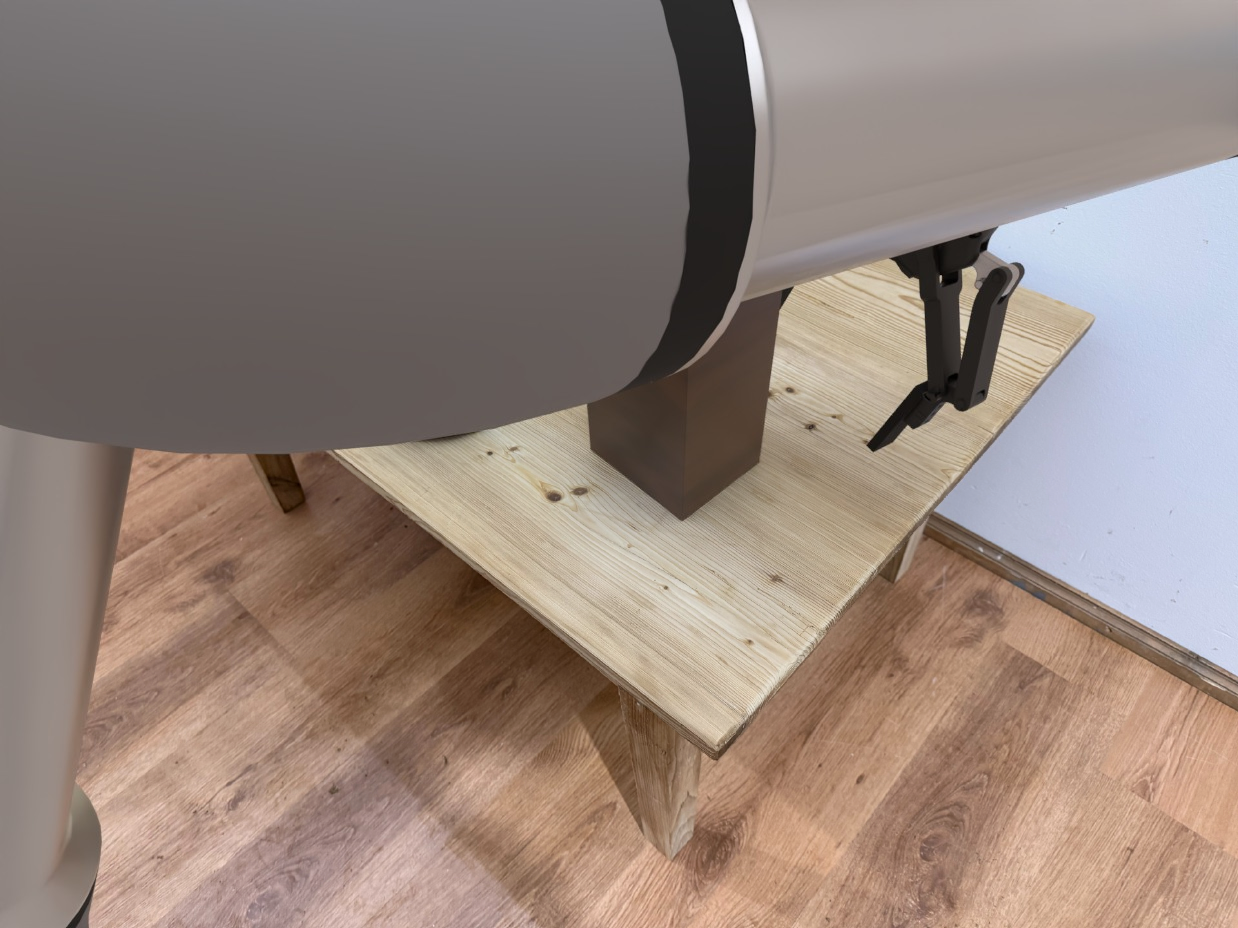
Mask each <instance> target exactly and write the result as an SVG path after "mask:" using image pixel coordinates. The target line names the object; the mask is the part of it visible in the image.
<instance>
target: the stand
mask: <svg viewBox="0 0 1238 928" xmlns="http://www.w3.org/2000/svg"><path fill="white" fill-rule="evenodd" d="M781 296H782V290H780V291H776V292H773V293H769V294H766V295H763V296H759V297H756V298H752V299H749V300H745V301H742V302H740V305H739V307H738V309H737V311H736V312H735V314H734V316H733V318H732V319H731V321H730V323H729V325H728V326H727V328H726V330H725V331H724V333H723V334H722V335H721V336H720V338H719V339H718V340H717V341H716V342H715V343H714V345H713V346H712V347H711V348H710V349H709V350H708V352H707V353H706V354H704V355H703V356H702V357H701V358H699V359H698V360H697V361H696V362H694V363H693V364H692V365H690V366H689V367H688V368H685V369H683V370H681V371H679V372H677V373H675V374H673V375H670V376H668V377H665V378H662V379H659V380H657V381H653V382H650V383H647V384H644V385H641V386H638V387H635V388H632V389H629V390H625V391H622V392H619V393H616V394H613V395H610V396H608V397H605V398H603V399H600V400H598V401H595V402H591V403H588V404H586V408H587V421H588V423H587V424H588V433H589V434H588V435H589V445H590V446H589V447H590V450H591V451H592V452H593V453H595V454H596V455H597V456H599V457H600V458H601V459H602V460H604V461H605V462H606V463H608V464H609V465H610V466H611V467H613V468H614V469H615V470H616V471H618V473H620V474H622V475H623V476H624V477H625V478H627V479H628V480H629V481H630V482H631V483H633V484H634V485H635V486H637V487H638V488H639V489H640V490H642V491H643V492H644V493H646V494H647V495H648V496H649V497H651V498H652V499H653V500H654V501H655V502H657V503H658V504H660V506H662V507H663V508H664V509H666V510H667V511H668V512H670V513H671V514H672V515H673V516H675V517H676V518H677V519H679V520H680V521H681V522H684V521H685V520H686V519H688V518H689V517H690V516H691V515H693V514H694V513H695V512H696V511H698V510H699V509H700V508H702V507H703V506H705V504H707V503H708V502H709V501H711V500H712V499H713V498H715V497H716V496H718V495H719V494H720V493H721V492H722V491H725V489H727V488H728V487H729V486H731V485H732V484H733V483H735V482H736V481H737V480H738V479H739V478H741V477H742V476H743V475H745V474H746V473H747V472H749V471H750V470H752V469H753V468H754V467H755V466H757V465H758V464H759V463H760V462H761V461H760V460H761V453H762V447H763V439H764V430H765V423H766V416H767V415H766V414H767V409H768V400H769V393H770V386H771V378H772V371H773V363H774V357H775V356H774V355H775V347H776V341H777V340H776V339H777V333H778V326H779V319H780V311H781V309H780V303H781Z"/></svg>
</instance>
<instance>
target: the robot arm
mask: <svg viewBox="0 0 1238 928" xmlns="http://www.w3.org/2000/svg"><path fill="white" fill-rule="evenodd" d="M1235 158H1238V0H0V928H90V911H91V907H92V902H93V899H94V898H93V897H94V893H95V887H96V883H97V878H98V877H97V876H98V873H99V866H100V862H101V856H102V846H103V845H102V844H103V836H102V826H101V822H100V819H99V817H98V813H97V811H96V809H95V807H94V805H93V803H92V800H91V799H90V797H89V796H88V795H87V794H86V792H85V790H84V789H83V788H82V787H81V786H80V785H79V784H78V783H77V782H76V778H77V774H78V773H77V772H78V767H79V761H80V757H81V750H82V745H83V739H84V734H85V729H86V724H87V723H86V722H87V718H88V717H87V716H88V712H89V705H90V700H91V695H92V690H93V685H94V678H95V674H96V673H95V672H96V668H97V661H98V656H99V650H100V645H101V639H102V633H103V628H104V622H105V617H106V611H107V606H108V600H109V595H110V589H111V584H112V577H113V571H114V567H115V562H116V556H117V550H118V545H119V539H120V534H121V527H122V523H123V516H124V511H125V505H126V500H127V494H128V488H129V482H130V477H131V472H132V467H133V460H134V455H135V451H136V450H135V449H138V450H146V451H154V452H163V453H164V452H165V453H173V454H185V455H187V454H192V455H193V454H195V455H197V454H201V455H205V454H206V455H207V454H210V455H214V454H215V455H233V454H234V455H291V454H303V453H315V452H327V451H338V450H339V451H340V450H350V449H351V450H352V449H361V448H362V449H363V448H373V447H386V446H394V445H401V444H406V443H413V442H414V443H415V442H418V441H419V442H420V441H425V440H431V439H438V438H443V437H445V438H446V437H450V436H456V435H457V436H458V435H464V434H470V433H475V432H483V431H488V430H493V429H494V430H495V429H498V428H502V427H505V426H509V425H512V424H516V423H521V422H524V421H527V420H532V419H537V418H539V417H543V416H546V415H551V414H554V413H557V412H558V413H559V412H562V411H565V410H570V409H573V408H576V407H580V406H584V405H587V404H588V403H591V402H595V401H598V400H600V399H603V398H605V397H608V396H610V395H613V394H616V393H619V392H622V391H625V390H629V389H632V388H635V387H638V386H641V385H644V384H647V383H650V382H653V381H657V380H659V379H662V378H665V377H668V376H670V375H673V374H675V373H677V372H679V371H681V370H683V369H685V368H688V367H689V366H690V365H692V364H693V363H694V362H696V361H697V360H698V359H699V358H701V357H702V356H703V355H704V354H706V353H707V352H708V350H709V349H710V348H711V347H712V346H713V345H714V343H715V342H716V341H717V340H718V339H719V338H720V336H721V335H722V334H723V333H724V331H725V330H726V328H727V326H728V325H729V323H730V321H731V319H732V318H733V316H734V314H735V312H736V311H737V309H738V307H739V305H740V302H742V301H745V300H749V299H752V298H756V297H759V296H763V295H766V294H769V293H773V292H776V291H780V290H782V296H781V303H780V310H781V309H782V307H783V306H784V304H785V302H786V301H787V300H788V298H789V296H790V295H791V293H792V291H793V289H794V288H795V287H797V286H800V285H803V284H807V283H811V282H814V281H817V280H820V279H824V278H826V277H831V276H834V275H837V274H841V273H844V272H847V271H851V270H854V269H857V268H858V269H859V268H861V267H865V266H868V265H871V264H875V263H878V262H882V261H885V260H891V261H893V262H894V263H895V265H897V267H898V269H899V270H900V272H901V273H902V274H904V276H906V277H907V278H908V279H909V280H911V279H916V280H918V289H919V291H918V292H919V299H920V300H921V301H922V302H923V311H924V312H923V313H924V332H925V336H924V337H925V354H926V358H925V359H926V375H927V376H926V377H927V378H926V379H927V380H925V381H923V382H921V383H919V384H916V385H915V386H914V387H913V388H912V389H911V390H910V392H909V393H908V394H907V395H906V397H904V399H903V400H902V402H901V403H899V405H898V406H897V407H896V409H895V410H894V411H893V412H892V413H891V415H890V416H889V417H888V418H887V420H885V421H884V423H883V424H882V426H881V427H880V428H879V429H878V430H877V431H876V433H874V435H873V436H872V437H871V439H870V440H869V441H868V442H867V444H866V447H867V448H868V449H869V450H870V452H872V453H875V452H878V451H879V450H881V449H883V448H885V447H886V446H889V445H891V444H893V443H894V442H895V441H896V440H897V438H898V437H899V436H900V435H901V434H902V433H903V431H904V430H905V429H906V428H907V427H909V428H910V429H911V430H913V431H914V430H916V429H917V428H920V427H922V426H924V425H926V424H928V423H929V422H930V421H931V420H932V419H933V418H935V416H936V415H937V414H938V413H939V411H940V410H941V409H942V408H943V407H944V406H945V404H947V403H948V404H951V405H953V408H954V409H955V410H956V411H958V412H961V413H963V412H967V411H969V410H971V409H972V408H974V407H976V406H979V405H981V404H982V403H984V402H985V401H986V400H987V398H988V394H989V389H990V386H991V381H992V376H993V372H994V368H995V364H996V359H997V354H998V350H999V345H1000V341H1001V337H1002V332H1003V328H1004V323H1005V319H1006V315H1007V310H1008V306H1009V301H1010V298H1012V295H1013V294H1014V292H1015V290H1016V289H1017V288H1018V286H1019V284H1020V283H1021V281H1022V280H1023V278H1024V276H1025V273H1026V270H1025V267H1024V265H1023V264H1022V263H1021V262H1019V261H1013V262H1010V263H1008V262H1006V261H1004V260H1002V259H1001V258H1000V257H998V256H996V255H995V254H993V253H992V252H990V251H989V250H988V248H989V244H990V240H991V239H992V236H993V235H994V233H995V232H996V231H997V230H998V228H999V227H1001V226H1004V225H1007V224H1008V225H1009V224H1012V223H1014V222H1017V221H1021V220H1025V219H1028V218H1032V217H1035V216H1038V215H1042V214H1045V213H1049V212H1052V211H1055V210H1059V209H1062V208H1066V207H1069V206H1073V205H1076V204H1079V203H1083V202H1087V201H1089V200H1093V199H1096V198H1099V197H1103V196H1107V195H1110V194H1114V193H1117V192H1121V191H1124V190H1127V189H1130V188H1134V187H1138V186H1141V185H1144V184H1147V183H1151V182H1154V181H1157V180H1161V179H1164V178H1168V177H1171V176H1174V175H1178V174H1181V173H1184V172H1188V171H1191V170H1195V169H1199V168H1202V167H1206V166H1209V165H1212V164H1216V163H1220V162H1222V161H1226V160H1230V159H1235ZM971 267H972V268H974V270H975V272H976V278H975V281H974V288H975V289H976V290H977V293H976V294H975V297H974V299H973V303H972V307H971V311H970V315H969V321H968V325H967V330H966V335H965V341H964V345H963V349H962V341H961V339H962V337H961V313H960V308H961V307H960V294H961V292H962V291H963V270H965V269H968V268H971Z"/></svg>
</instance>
